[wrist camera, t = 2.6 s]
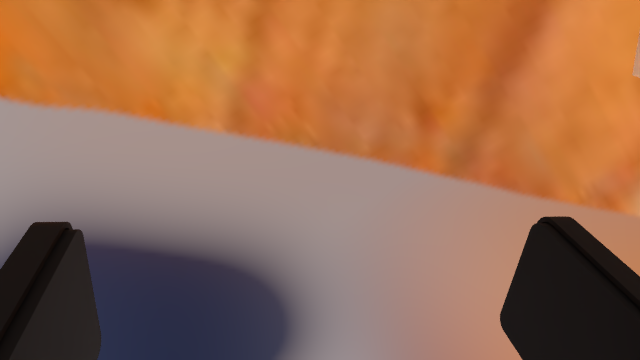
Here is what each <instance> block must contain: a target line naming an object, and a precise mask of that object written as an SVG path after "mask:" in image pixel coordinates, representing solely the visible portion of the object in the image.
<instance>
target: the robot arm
mask: <svg viewBox="0 0 640 360" xmlns="http://www.w3.org/2000/svg"><path fill="white" fill-rule="evenodd" d="M500 321H501V326H502V328H503V330H504V332H505V333H506V335H507V336H508V338H509V340H510V341H511V343H512V344H513V346H514V347H515V349H516V350H517V352H518V353H519V355H520V356H521V358H522V359H523V360H640V277H639V276H638V275H637V274H636V273H635V272H634V271H633V270H631V269H630V268H629V267H628V266H627V265H626V264H625V263H623V262H622V261H621V260H620V259H619V258H618V257H617V256H615V255H614V254H613V253H612V252H611V251H610V250H609V249H607V248H606V247H605V246H604V245H603V244H602V243H601V242H599V241H598V240H597V239H596V238H595V237H594V236H592V235H591V234H590V233H589V232H588V231H587V230H585V229H584V228H583V227H582V226H581V225H580V224H579V223H577V222H576V221H575V220H574V219H572V218H571V217H543V218H541V219H540V220H539V221H538V222H537V223H536V224H534V225H533V226H532V227H531V229H530V232H529V235H528V238H527V240H526V243H525V246H524V249H523V252H522V255H521V257H520V260H519V263H518V266H517V269H516V271H515V274H514V277H513V280H512V283H511V285H510V288H509V291H508V294H507V297H506V299H505V302H504V305H503V308H502V311H501V314H500ZM100 346H101V331H100V326H99V320H98V315H97V309H96V304H95V298H94V292H93V287H92V281H91V276H90V271H89V265H88V259H87V254H86V248H85V242H84V237H83V233H82V231H81V230H73V229H72V226H71V224H70V223H69V222H35V223H33V224H32V225H31V226H30V227H29V229H28V230H27V232H26V233H25V235H24V236H23V237H22V239H21V240H20V242H19V243H18V245H17V246H16V248H15V249H14V251H13V252H12V254H11V255H10V256H9V258H8V259H7V261H6V262H5V264H4V265H3V267H2V268H1V269H0V360H97V358H98V355H99V351H100Z"/></svg>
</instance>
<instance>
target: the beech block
mask: <svg viewBox="0 0 640 360" xmlns="http://www.w3.org/2000/svg"><path fill="white" fill-rule="evenodd" d="M632 75H633V76H636V77H639V78H640V32H639V38H638V44H637V50H636V56H635V62H634V68H633V74H632Z"/></svg>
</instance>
